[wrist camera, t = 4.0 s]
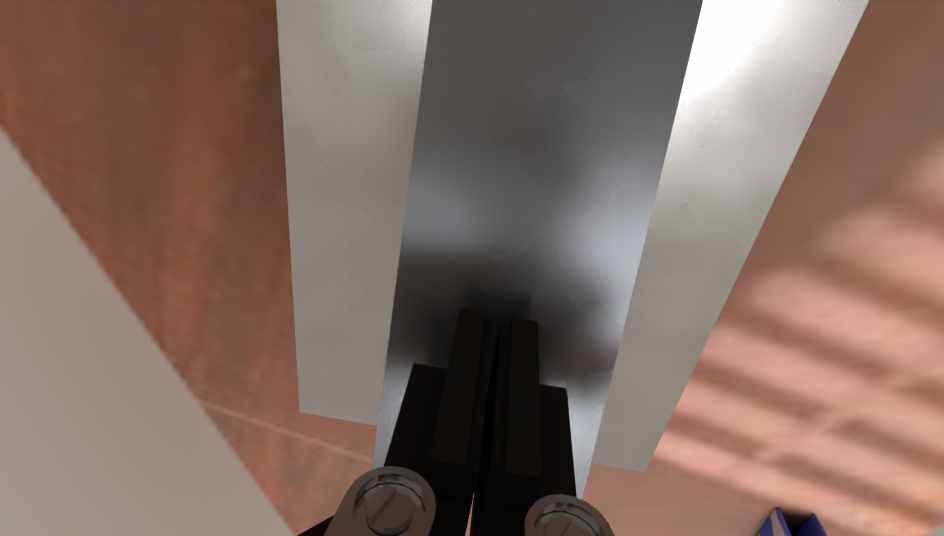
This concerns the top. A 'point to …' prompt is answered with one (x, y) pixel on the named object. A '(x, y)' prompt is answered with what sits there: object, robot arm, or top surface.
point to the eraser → (777, 532)
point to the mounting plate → (671, 224)
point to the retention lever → (535, 186)
